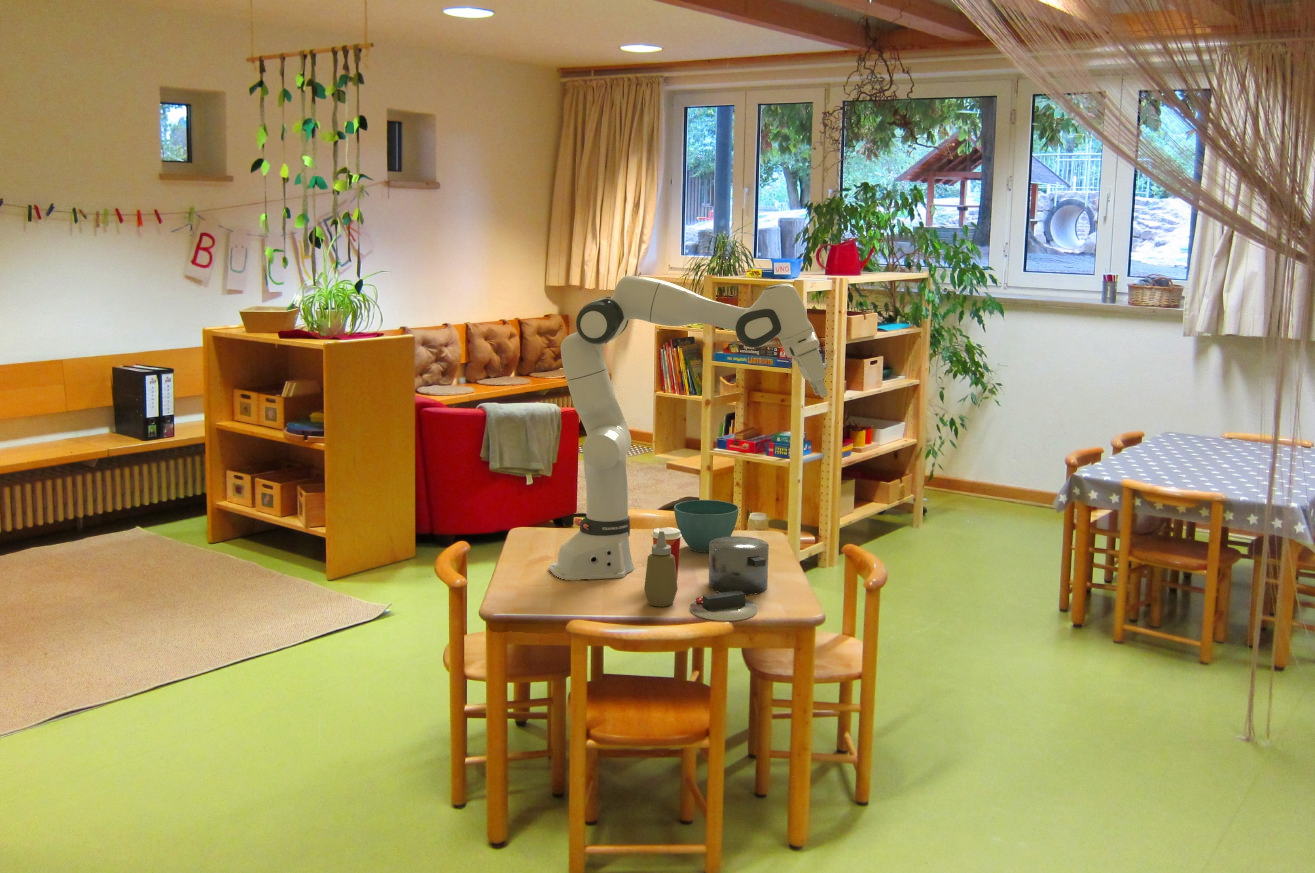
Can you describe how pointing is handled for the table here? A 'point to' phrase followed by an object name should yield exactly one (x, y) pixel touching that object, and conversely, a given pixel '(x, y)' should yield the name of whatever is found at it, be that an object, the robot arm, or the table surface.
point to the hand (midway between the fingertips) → (821, 395)
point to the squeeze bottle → (661, 574)
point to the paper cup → (670, 541)
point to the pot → (738, 564)
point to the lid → (724, 606)
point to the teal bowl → (705, 521)
